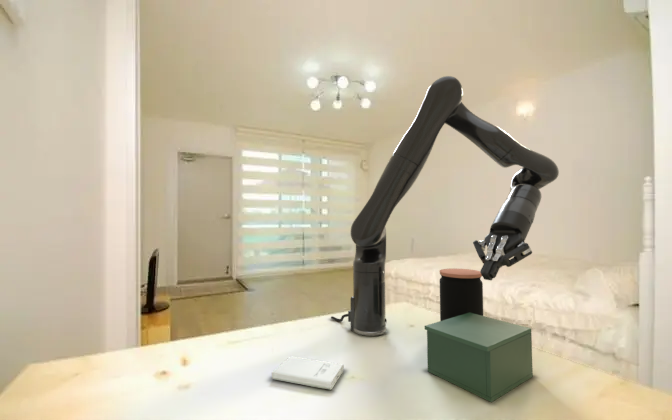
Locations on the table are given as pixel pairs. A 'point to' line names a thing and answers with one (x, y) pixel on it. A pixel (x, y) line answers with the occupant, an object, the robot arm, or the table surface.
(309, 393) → the table surface
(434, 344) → the green box
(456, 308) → the coffee jar
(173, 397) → the table surface
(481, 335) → the green lid
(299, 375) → the hard drive
